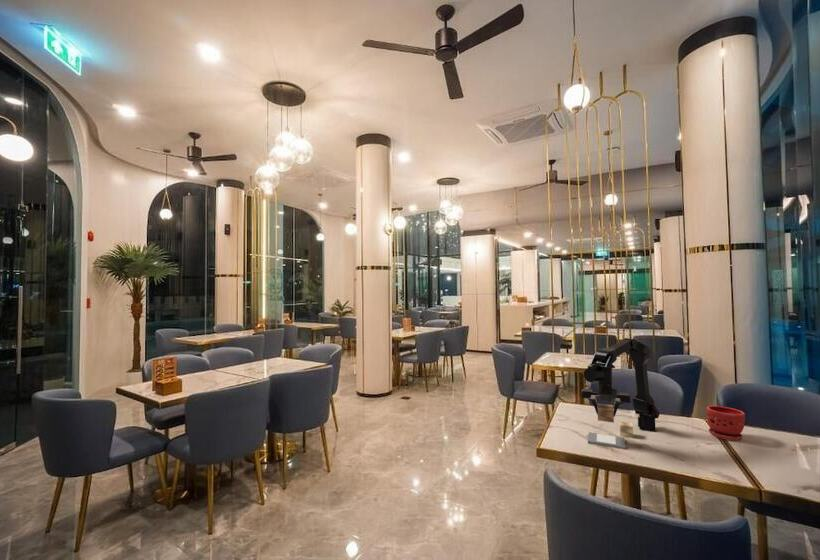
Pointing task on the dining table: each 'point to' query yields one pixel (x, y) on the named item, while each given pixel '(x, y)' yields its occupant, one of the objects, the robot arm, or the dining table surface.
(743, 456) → the dining table surface
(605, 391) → the robot arm
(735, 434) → the plant pot
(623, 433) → the maple cube
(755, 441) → the dining table surface
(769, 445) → the dining table surface
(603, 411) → the walnut block
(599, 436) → the base board
